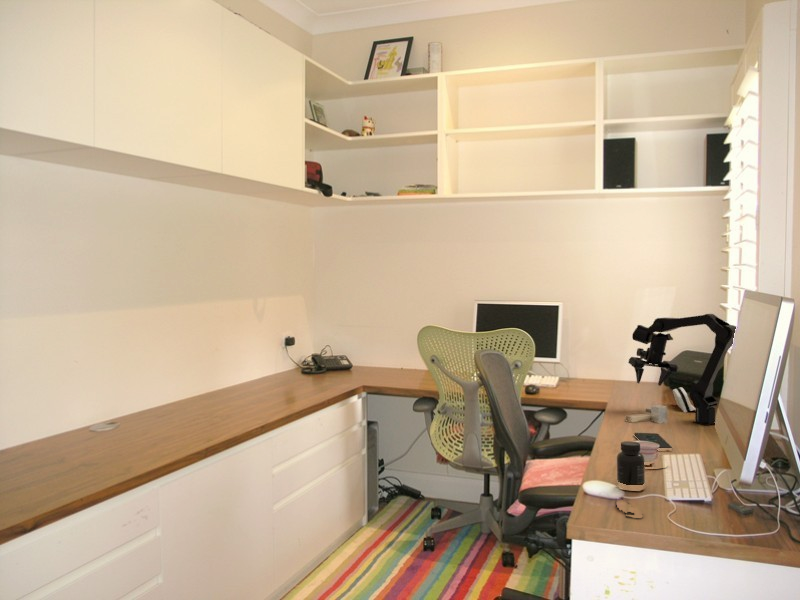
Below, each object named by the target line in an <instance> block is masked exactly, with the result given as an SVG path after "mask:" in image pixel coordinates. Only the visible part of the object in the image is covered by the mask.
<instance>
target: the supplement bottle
mask: <svg viewBox="0 0 800 600" xmlns="http://www.w3.org/2000/svg"><path fill="white" fill-rule="evenodd" d="M632 441H633V440H632ZM632 441H630V440H628V441H627V440H626V441H621V442H620V450H621V451H620V452H618V453H617V456H616V481H617V480H618V482H620V483H623V484H626V485H643V484H644V483H645V484H646V482H645V481H646V480H645V479H646V477H645V475H646V474H645V471H646V469H645V466H644V456H643V455H642V454H641V453H639V452H640V443H637V442H632Z"/></svg>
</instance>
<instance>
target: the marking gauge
mask: <svg viewBox="0 0 800 600" xmlns="http://www.w3.org/2000/svg"><path fill="white" fill-rule="evenodd" d="M645 412H646V413H647V414H648V413H651V422H653V421H654V423H656V422H657V424H663V422H666V423H668V406H667V405H666V406H665V405H660V404H656V405H651V407H650V408H646V409H645Z"/></svg>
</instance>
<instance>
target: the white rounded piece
mask: <svg viewBox="0 0 800 600" xmlns="http://www.w3.org/2000/svg"><path fill="white" fill-rule="evenodd" d="M672 395H674V399H675V402H676V405H677V406H678V407H679V408H680V409H681V411H682V412H683V413H688V411H690V412H692V411H693V412H695V410H696V408H695V407H694V405H692V404H691V401H690V400H691V399H690V397H689V394H688V393H687V392H686V390H685V389H684V388H683V387H678V388H674V389H672Z"/></svg>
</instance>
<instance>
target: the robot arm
mask: <svg viewBox="0 0 800 600" xmlns="http://www.w3.org/2000/svg"><path fill="white" fill-rule="evenodd" d="M701 325H706V326H707V327H708V329H710V331H711V332H712V333H713V334H715V337H714V348H713V350H712V352H711V355H710V357H709V359H708V361H707V364H706V366H705V368H704V370H703V372H702V375H701V376H700V378H699V380H694V381H692V382H691V387H690V388H689V390H688V398H689V400H691V402H692V404H693V407H694V408H695V409H696V410H695V411H694V412H695V413H694V414H695V415H694V416H695V417H694V418H695V420H692V423H695V424H700V425H702V426H712V425H715V424H714V422H716V407H718V404H719V401H718V400H717V399H716V397H714V395H713V392H714V381H715V379H716V377H717V375H718V373H719V371H720V368H721V366H722V365H723V362H724V360H725V358H726V355H727V353H728V351H729V350H730V348H731V347H732V346H733V345H734V344H733V338H734V333H735V329H736V327H737V326H736V325H733V324H730V323H729V322H727V321H725V320H723V319H722V318H720V317H718V316H717V315H715V313H705V314H703V315H695V316H694V315H693V316H687V317H686V316H685V317H680V318H679V317H677V318H676V317H657V318H655V319H654V321H653V323H652V324H651V325H650V326H649V327H647V326H644V325H642V324H637V327H636V328H635V329H634V331H633V333H632V340H633V341H636V342H639V343H642V344H644V345H648V344H649V343H650V345H649V347H647V348H646V350H644V348H641V347H639V348H638V347H637V349H636V356H637V357H636V356H635V357H634V356H631V357H629V359H628V362H627V363H628V364H629V365H631V367H633V368H634V371H635V377H636V383H637V384H640V382H641V381H642V380H641V379H642V377H643V375H644V370H645V369H644V367H656V368H660V374H659V378H658V384H657V385H658V386H659V387H661V386H662V384H663V383H664V382H665V381H666V380H667V379H668V378H669V377H670V376H671V375H672V374H674V373H678V370H679V366H678V364H676V363H675V362H673V361H671V360H663V358H664V356H666V355H667V354H666V353H667V352H665V350H666V347H667V343H668V341H673V340H674V337H673V336H672V335H671V333H669V332H671V331H674V330H677V329H679V328H685V327H686V328H687V327H693V326H694V327H695V326H701ZM666 332H667V333H666ZM732 344H733V345H732ZM674 375H675V374H674ZM711 424H712V425H711Z"/></svg>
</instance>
